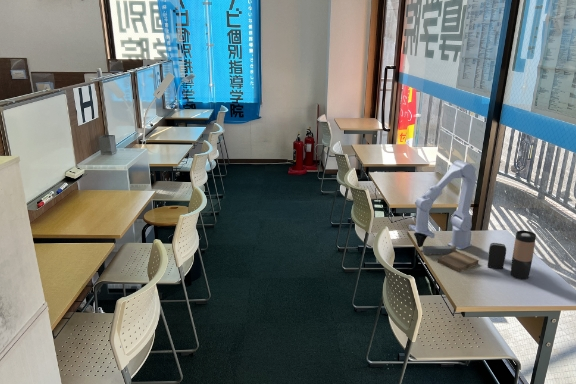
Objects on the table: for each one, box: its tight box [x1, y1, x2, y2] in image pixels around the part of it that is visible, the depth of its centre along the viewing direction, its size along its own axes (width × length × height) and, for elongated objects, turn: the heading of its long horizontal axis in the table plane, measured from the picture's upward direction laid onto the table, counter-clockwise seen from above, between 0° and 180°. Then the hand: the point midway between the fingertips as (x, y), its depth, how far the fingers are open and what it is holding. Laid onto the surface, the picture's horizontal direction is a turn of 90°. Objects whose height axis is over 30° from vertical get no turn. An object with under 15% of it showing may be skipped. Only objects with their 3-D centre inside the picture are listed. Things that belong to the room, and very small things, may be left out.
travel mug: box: [510, 229, 537, 280], centre depth 191 cm, size 8×8×20 cm
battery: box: [486, 242, 507, 270], centre depth 201 cm, size 7×4×11 cm, turn 69°
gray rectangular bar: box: [422, 245, 451, 255], centre depth 216 cm, size 13×3×3 cm, turn 88°
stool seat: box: [436, 245, 479, 273], centre depth 207 cm, size 15×15×4 cm
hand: (420, 246), depth 220 cm, fingers closed
